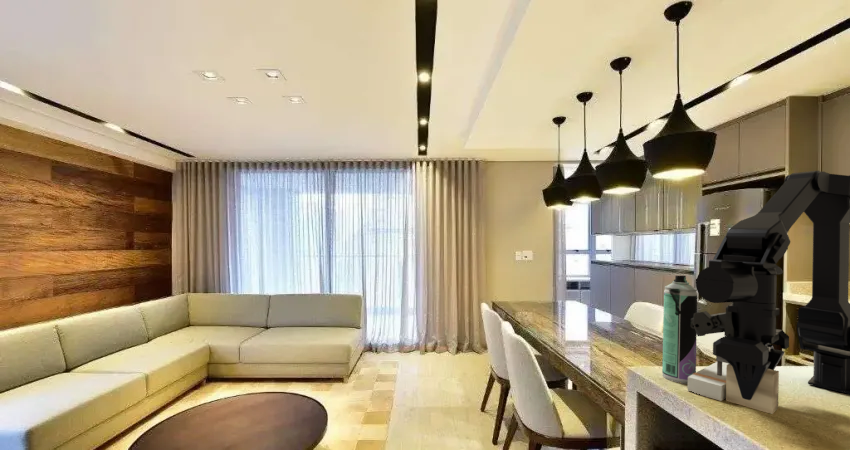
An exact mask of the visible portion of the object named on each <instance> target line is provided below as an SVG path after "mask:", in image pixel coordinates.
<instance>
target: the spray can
mask: <svg viewBox="0 0 850 450" xmlns="http://www.w3.org/2000/svg"><path fill="white" fill-rule="evenodd" d="M686 276H687V275H675V276H674V277H675V279H673V280H672V283H669V284H668V285H665V286H664V291H663V323H662V324H663V327H662V328H663V329H662V330H663V331H662V369H661V370H662V371H661V372H662V373H661V375H662V377H663V378H665V379H666V380H669V381H671V382H675V383H679V382H681V383H680V384H688V377H689V376H690V375H692V374H693V373H696V372H697V371H696V370H697V337H698V336H697V333H696V331H695V329H693V328H691V326H690V325H691V319H692V318H693V317H694V313H697V312H698V291H697V288H696V287H694V286H692V285H691V284H690V282H689V281H688V280H687V277H686Z"/></svg>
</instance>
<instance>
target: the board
mask: <svg viewBox="0 0 850 450" xmlns="http://www.w3.org/2000/svg"><path fill="white" fill-rule="evenodd" d="M728 364H729V363H725V362H722V376H719V375H717V361H715V362H714V363H711V364H710V365H708V366H706V367H704V368H702V369H700V370H697V371H696V373H693V374H692V375H690V376H689V377H688V383H687V390H688V391H687V392H689V391H692V392H694V393H693V394H696V393H697V395H699V394H700V396H703V397H707V398H709V399H714V400H717V401H719V402H722V401H723V400H726V371H727V365H728ZM692 392H691V393H692Z"/></svg>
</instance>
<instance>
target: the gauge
mask: <svg viewBox="0 0 850 450" xmlns="http://www.w3.org/2000/svg"><path fill="white" fill-rule="evenodd" d="M715 362H717V375H719V376H722V362H725V363H729V362H727V361H726V360H725V359H723V358H721V357H719V356H715ZM779 377H780V371H778V370H776V369H774V370H771V369H767V371H766V372H765V374H764V376H763V378H762V380H761V382H760V384H759V386H758V388H757V390H756V392H755V393H754V395H753V397H752V399H751V400H747V399H743V398H742V396H741V392H740V389H739V386H738V382H737V379H736V376H735V373H734V370H733V367H732V365H731V364H730V363H729V364H728V365H727V371H726V398H725V401H726V402H729V403H733V404H737V405H740V406H743V407H747V408H750V409H753V410H756V411H759V412H760V411H761V412H763V413H768V414H771V415H773V414H774V413H775V412H776V411H777V410H778V409H779V388H780V387H779V386H780V384H779V383H780V381H779V380H780V379H779Z"/></svg>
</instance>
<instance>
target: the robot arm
mask: <svg viewBox="0 0 850 450" xmlns="http://www.w3.org/2000/svg"><path fill="white" fill-rule="evenodd" d="M803 214H805V215H806V217H807V218H808V219H809V220H810V221H811V222H812V275H811V278H812V281H811V282H812V283H811V285H812V287H811V288H812V289H811V299H810V300H809V301H808V302H807V303H806V304H805V305H804V306H800V307H799V309H797V314H798V321H797V323H796V332H797V337H798V342H799V348H800V349H801V350H808V351H813V376H812V377H811V378H810V379H809V380H808V382H807V384H808V385H810V386H815V387H818V388H823V389H827V390H831V391H835V392H839V393H843V394H844V393H845V394H848V395H850V301H849V279H850V278H849V272H850V270H849V269H850V268H849V266H850V175H846V174H845V175H844V174H837V173H830V172H829V173H828V172H826V171H820V170H811V171H801V172H793V173H790V174H788V175H786V176H785V178H784V181H783V184H782V185H781V186H780V188H779V189H778V190H777V191H776V192H774V194H773V195H772V197H771V198H770V199H769V200H768V201H767V202H766V203H765V205H763V207H762V208H761V209H760V210H759V211H758V212H757V213H756V214H754V215H753V216H749V217H747V218H744V219H741V220H740V221H738V222H737V223H735V224H734V225H733V226H731V227H730V228H729V229H728V230H727V232H726V233H725V236H724V238H723V239H722V241H721V243H720V245H719V247H718V249H717V251H716V253H715V254H714V257H713V258H712V259H709V260H708V267H705V268H703V269H702V270H701V271H700V272H699V273H698V275H697V277H696V278H695V289H697V291H696V292H697V294H699V295H700V296H701V298H702V299H704V300H705V301H707V302H710V303H713V304H718V303H719V304H720V303H721V304H722V303H731V304H729V305H726V306H725V312H719V313H712V314H710V313H709V312H708V311H707V310H704V311H700V312H699V311H697V313H694V317H693V318H692V319H691V325H690V326H691V328H693V329H695V331H696V333H697V337H702V336H703V337H705V336H707V335H710V334H721V333H724V334H723V335H724V336H722V337H720V338H719V339H717V340H715V341H714V342H713V343H712V355H713V356H715V357H716V356H719V357H721V358H723V359H725V360H726V361H727V362H729V363H730V364H731V365H732V367H733V370H734V373H735V376H736V379H737V382H738V386H739V389H740V392H741V396H742V398H743V399H747V400H751V399H752V397H753V395H754V393H755V392H756V390H757V388H758V386H759V384H760V382H761V380H762V378H763V376H764V374H765V372H766V371H767V369H771V370H776V367H777V366H778V364H779V363H780V361H781V360H782V359H781V358H782V357H783V356H784V355H785V351H784V350H787V349H789V347H790V336H789V335H788V334H787V333H786V332H785V331H784V330H782V329H779V328H778V329H777V316H779V315H780V308H778V307H777V279H778V277H777V275H782V274H783V273H784V272H783V270H782V268H781V267H780V266H778V265H777V263H778V262H779V260H781V259H782V258H783V257H784V255H785V254H786V252H787V250H788V248H789V246H790V244H791V239H790V236H789V234H788V233H789V232H790V229H791V228H792V227H793V225H794V224H795V223H796V222H797V221H798V220H799V218H800V217H801V215H803ZM774 345H777V346H780V348H781V349H782V350H781V349H780V350H779V349H775V348H774Z"/></svg>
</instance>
